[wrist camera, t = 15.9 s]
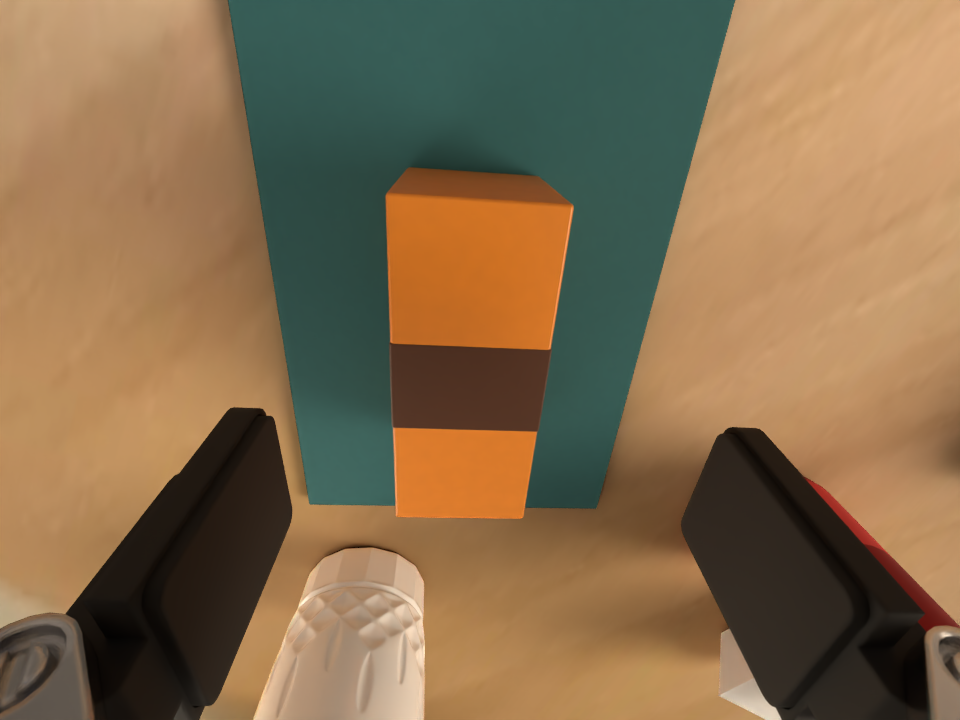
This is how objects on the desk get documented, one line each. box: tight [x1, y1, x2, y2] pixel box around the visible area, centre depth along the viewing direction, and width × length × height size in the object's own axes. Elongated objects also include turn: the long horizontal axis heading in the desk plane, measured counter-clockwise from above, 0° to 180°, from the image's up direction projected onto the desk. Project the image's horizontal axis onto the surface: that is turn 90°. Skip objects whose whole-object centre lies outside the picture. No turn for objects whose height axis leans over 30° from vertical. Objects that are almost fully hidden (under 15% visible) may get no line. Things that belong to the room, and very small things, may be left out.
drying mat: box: [228, 0, 735, 509], centre depth 18 cm, size 22×15×1 cm
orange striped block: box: [385, 167, 574, 519], centre depth 16 cm, size 11×5×5 cm, turn 176°
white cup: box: [253, 547, 425, 720], centre depth 23 cm, size 8×8×10 cm
